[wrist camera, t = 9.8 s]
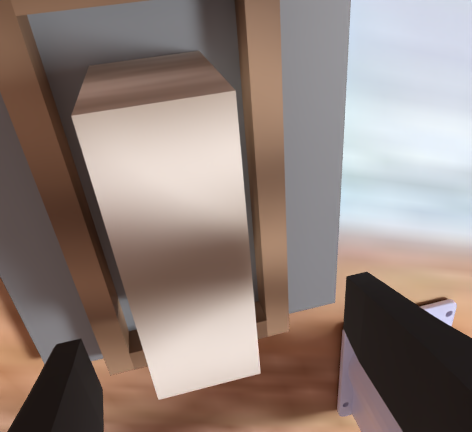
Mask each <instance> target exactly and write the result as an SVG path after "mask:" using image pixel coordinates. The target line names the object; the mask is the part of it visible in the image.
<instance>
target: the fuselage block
mask: <svg viewBox="0 0 472 432" xmlns="http://www.w3.org/2000/svg"><path fill="white" fill-rule="evenodd" d="M71 117H72V120H73V123H74V127H75V130H76V133H77V136H78V140H79V143H80V146H81V149H82V153H83V156H84V159H85V162H86V166H87V169H88V172H89V175H90V179H91V182H92V185H93V188H94V192H95V195H96V198H97V201H98V205H99V208H100V211H101V214H102V218H103V221H104V224H105V227H106V231H107V234H108V237H109V240H110V244H111V247H112V250H113V253H114V257H115V260H116V263H117V267H118V270H119V273H120V276H121V280H122V283H123V286H124V289H125V293H126V296H127V299H128V302H129V306H130V309H131V312H132V315H133V319H134V322H135V325H136V328H137V332H138V335H139V338H140V341H141V345H142V348H143V351H144V354H145V358H146V361H147V364H148V367H149V371H150V374H151V377H152V380H153V384H154V387H155V390H156V393H157V397H158V400H160V399H164V398H168V397H172V396H175V395H179V394H183V393H187V392H191V391H195V390H199V389H202V388H206V387H210V386H214V385H218V384H222V383H225V382H229V381H233V380H237V379H241V378H245V377H249V376H252V375H256V374H260V373H261V372H260V361H259V349H258V338H257V327H256V315H255V304H254V293H253V281H252V270H251V259H250V248H249V236H248V225H247V214H246V202H245V191H244V180H243V168H242V157H241V146H240V134H239V123H238V112H237V100H236V90H235V89H234V88H233V87H232V86H231V85H230V84H229V83H228V82H227V81H226V80H225V78H224V77H223V76H222V75H221V74H220V73H219V72H218V71H217V70H216V69H215V68H214V66H213V65H212V64H211V63H210V62H209V61H208V60H207V59H206V58H205V57H204V56H203V54H202V53H201V52H200V51H193V52H186V53H179V54H171V55H164V56H157V57H149V58H142V59H135V60H128V61H120V62H113V63H106V64H98V65H91V66H89V67H88V70H87V73H86V76H85V78H84V81H83V84H82V87H81V90H80V92H79V95H78V98H77V101H76V104H75V107H74V109H73V112H72V115H71Z"/></svg>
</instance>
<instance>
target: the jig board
mask: <svg viewBox="0 0 472 432" xmlns="http://www.w3.org/2000/svg"><path fill="white" fill-rule="evenodd" d="M350 5H351V0H0V277H1V279H2V281H3V283H4V285H5V287H6V289H7V291H8V293H9V295H10V297H11V299H12V301H13V303H14V305H15V307H16V309H17V311H18V313H19V315H20V316H21V318H22V320H23V322H24V324H25V326H26V328H27V330H28V332H29V334H30V336H31V338H32V340H33V342H34V344H35V346H36V348H37V350H38V352H39V354H40V356H41V358H42V360H43V362H44V364H45V363H46V361H47V359H48V358H49V356H50V354H51V352H52V350H53V348H54V347H55V345H56V344H59V343H63V342H68V341H72V340H76V339H82V341H83V344H84V346H85V349H86V351H87V353H88V356H89V358H90V360H91V361H94V360H98V359H102V358H104V360H105V363H106V366H107V368H108V371H109V373H110V376H111V375H115V374H119V373H123V372H127V371H131V370H135V369H139V368H143V367H147V366H148V364H147V361H146V358H145V354H144V351H143V348H142V345H141V341H140V338H139V335H138V332H137V328H136V325H135V322H134V319H133V315H132V312H131V309H130V306H129V302H128V299H127V296H126V293H125V289H124V286H123V283H122V280H121V276H120V273H119V270H118V267H117V263H116V260H115V257H114V253H113V250H112V247H111V244H110V240H109V237H108V234H107V231H106V227H105V224H104V221H103V218H102V214H101V211H100V208H99V205H98V201H97V198H96V195H95V192H94V188H93V185H92V182H91V179H90V175H89V172H88V169H87V166H86V162H85V159H84V156H83V153H82V149H81V146H80V143H79V140H78V136H77V133H76V130H75V127H74V123H73V120H72V117H71V115H72V112H73V109H74V107H75V104H76V101H77V98H78V95H79V92H80V90H81V87H82V84H83V81H84V78H85V76H86V73H87V70H88V67H89V66H91V65H98V64H106V63H113V62H120V61H128V60H135V59H142V58H149V57H157V56H164V55H171V54H179V53H186V52H193V51H200V52H201V53H202V54H203V56H204V57H205V58H206V59H207V60H208V61H209V62H210V63H211V64H212V65H213V66H214V68H215V69H216V70H217V71H218V72H219V73H220V74H221V75H222V76H223V77H224V78H225V80H226V81H227V82H228V83H229V84H230V85H231V86H232V87H233V88H234V89H235V90H236V100H237V112H238V123H239V134H240V146H241V157H242V168H243V180H244V191H245V202H246V214H247V225H248V236H249V248H250V259H251V270H252V281H253V293H254V304H255V315H256V327H257V338H258V339H261V338H265V337H269V336H273V335H277V334H281V333H285V332H289V314H290V313H294V312H298V311H302V310H307V309H311V308H315V307H319V306H323V305H327V304H331V303H335V293H336V274H337V255H338V235H339V216H340V197H341V178H342V159H343V139H344V120H345V101H346V82H347V63H348V43H349V24H350Z"/></svg>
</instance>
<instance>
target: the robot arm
mask: <svg viewBox="0 0 472 432" xmlns="http://www.w3.org/2000/svg"><path fill="white" fill-rule="evenodd" d="M456 307H457V304H456V303H455V302H454V301H453V300H452V299H448V300H444V301H440V302H436V303H432V304H428V305H424V306H420V307H419V306H418V305H416V304H415V303H413V302H411V301H410V300H408V299H407V298H405V297H404V296H402V295H401V294H399V293H398V292H396V291H395V290H394V289H392V288H391V287H389V286H388V285H386V284H385V283H383V282H382V281H380V280H379V279H377V278H376V277H374V276H373V275H371V274H370V273H368V272H364V273H360V274H355V275H351V276H347V278H346V293H345V309H344V325H343V331H342V346H341V360H340V375H339V390H338V404H337V412H338V414H339V415H340V416H348V415H351V414H352V415H353V417H354V419H355V420H356V422H357V424H358V426H359V428H360V430H361V432H472V338H470V337H469V336H467V335H465V334H463V333H462V332H460V331H458V330H456V329H455V328H453V327H451V326H452V322H453V318H454V315H455V311H456ZM103 431H104V423H103V389H102V387H101V384H100V382H99V380H98V377H97V375H96V372H95V370H94V368H93V365H92V363H91V360H90V358H89V356H88V353H87V351H86V349H85V346H84V344H83V341H82V339H76V340H72V341H68V342H63V343H59V344H56V345H55V347H54V348H53V350H52V352H51V354H50V356H49V358H48V359H47V361H46V363H45V365H44V367H43V369H42V371H41V373H40V375H39V377H38V379H37V380H36V382H35V384H34V386H33V388H32V390H31V391H30V393H29V395H28V397H27V399H26V400H25V402H24V404H23V406H22V407H21V409H20V411H19V413H18V414H17V416H16V418H15V420H14V421H13V423H12V425H11V427H10V428H9V430H8V432H103Z"/></svg>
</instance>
